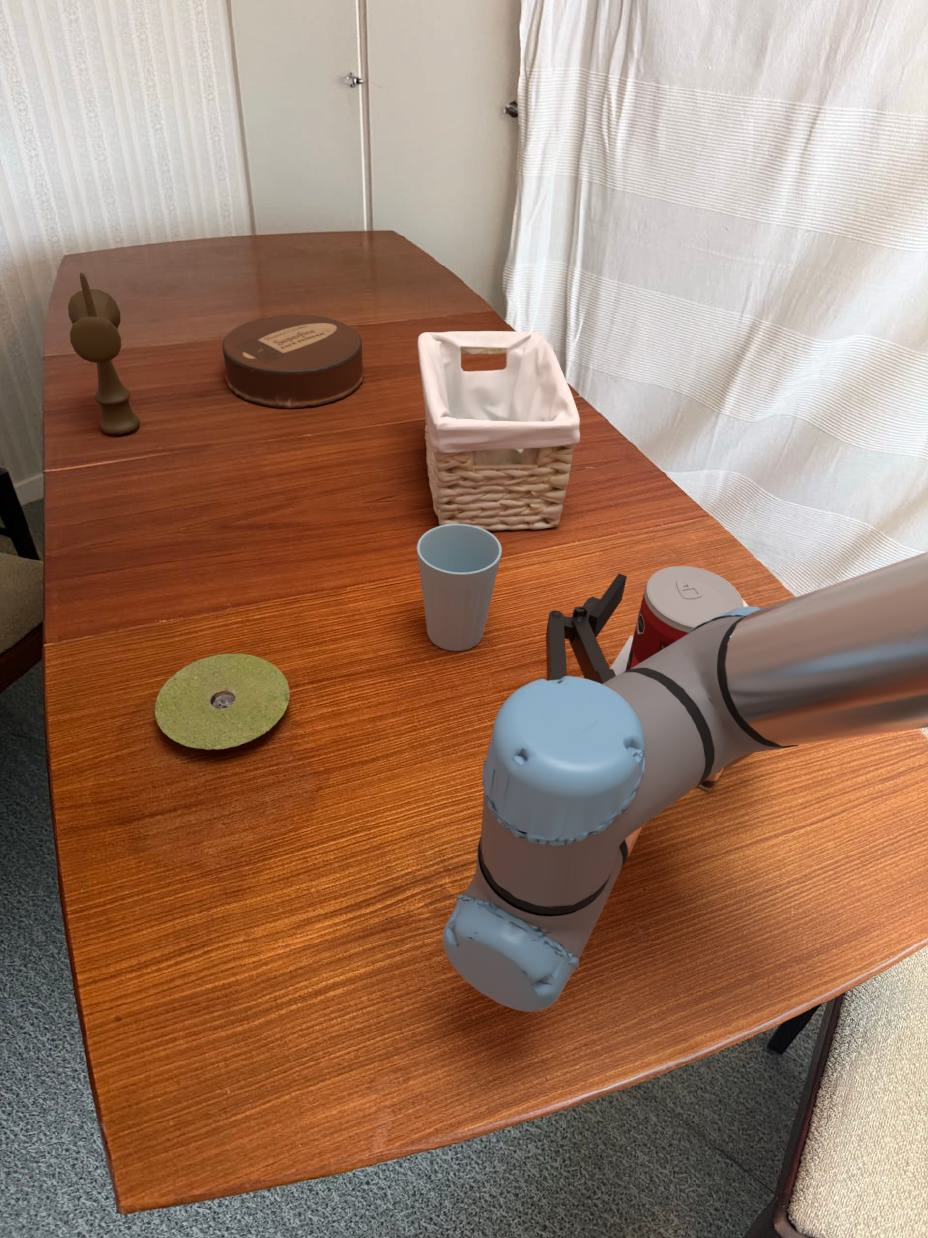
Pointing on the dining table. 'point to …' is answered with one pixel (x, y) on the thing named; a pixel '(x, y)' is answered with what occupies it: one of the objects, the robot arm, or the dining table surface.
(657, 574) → the canned food
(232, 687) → the green grinding disc
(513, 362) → the basket
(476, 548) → the cup
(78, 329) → the kendama
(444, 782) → the dining table surface
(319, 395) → the container
